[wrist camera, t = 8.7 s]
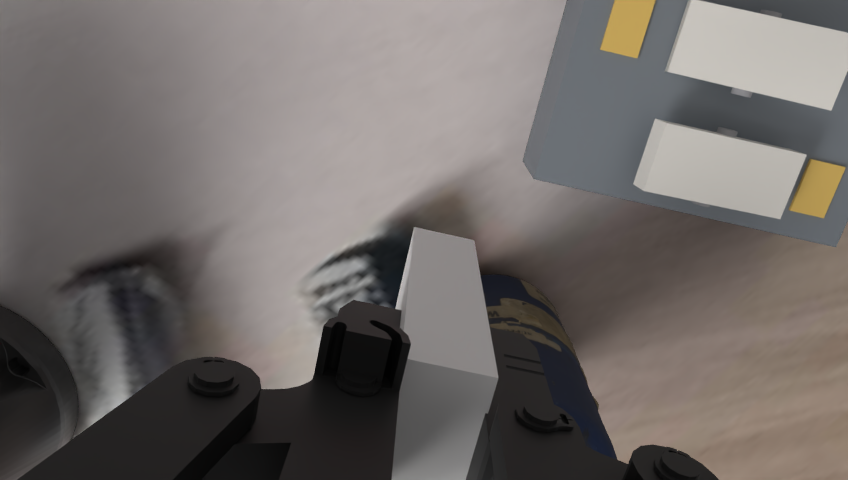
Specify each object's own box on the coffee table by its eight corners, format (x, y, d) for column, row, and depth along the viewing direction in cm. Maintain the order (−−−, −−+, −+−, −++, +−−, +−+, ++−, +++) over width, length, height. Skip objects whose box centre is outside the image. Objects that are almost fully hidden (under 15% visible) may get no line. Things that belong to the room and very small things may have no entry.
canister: (491, 238, 44) (527, 378, 27) (588, 329, 46) (680, 514, 29) (392, 333, 46) (367, 518, 29) (489, 416, 48) (519, 635, 31)
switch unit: (522, 160, 42) (534, 179, 37) (609, -155, 37) (637, -182, 32) (793, 222, 43) (840, 248, 38) (919, -76, 38) (992, -90, 33)
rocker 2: (629, 187, 36) (641, 196, 35) (654, 111, 35) (668, 117, 33) (760, 214, 38) (778, 224, 36) (789, 142, 36) (809, 149, 35)
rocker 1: (662, 76, 36) (665, 77, 34) (689, -5, 34) (694, -8, 33) (817, 113, 34) (828, 116, 33) (851, 30, 33) (865, 29, 32)
